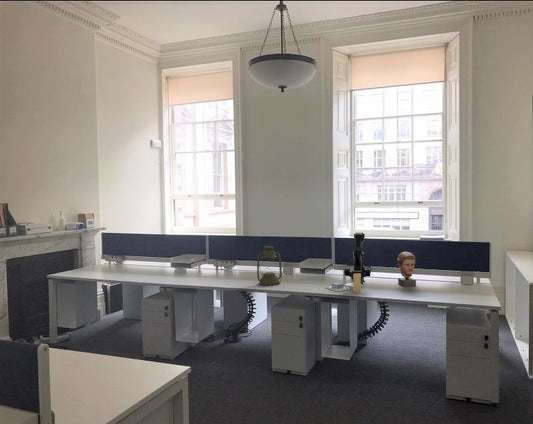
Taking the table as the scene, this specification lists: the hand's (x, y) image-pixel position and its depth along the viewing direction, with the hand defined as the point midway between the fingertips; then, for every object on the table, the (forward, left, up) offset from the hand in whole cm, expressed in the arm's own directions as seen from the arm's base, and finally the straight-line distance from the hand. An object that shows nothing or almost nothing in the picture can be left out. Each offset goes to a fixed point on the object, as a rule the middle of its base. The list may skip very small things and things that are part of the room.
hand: (357, 282), depth 340 cm
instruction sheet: (-11, -18, -7) cm, 22 cm away
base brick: (+7, -14, -7) cm, 17 cm away
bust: (-45, +4, -7) cm, 46 cm away
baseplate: (+7, -14, -7) cm, 17 cm away
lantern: (+41, -58, -7) cm, 71 cm away
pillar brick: (-1, -1, -7) cm, 7 cm away
